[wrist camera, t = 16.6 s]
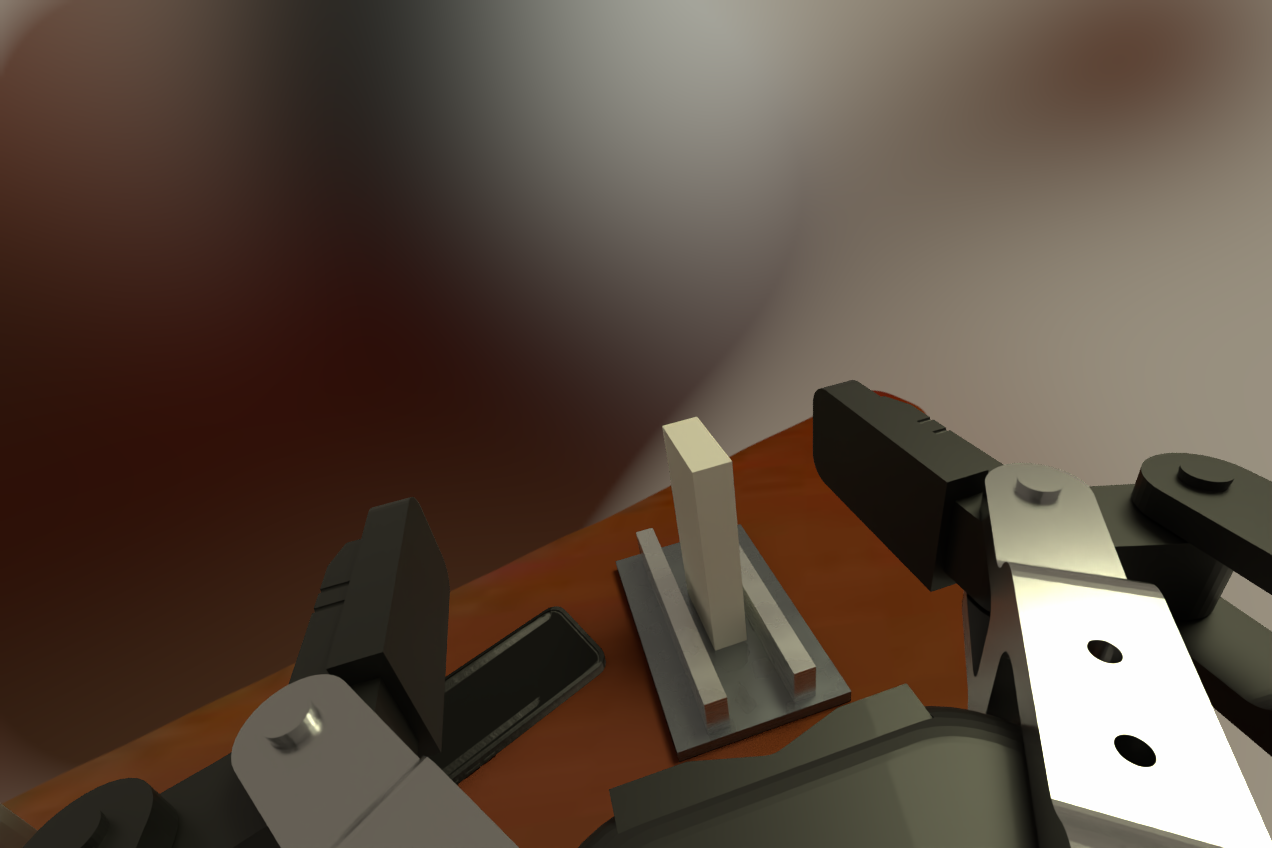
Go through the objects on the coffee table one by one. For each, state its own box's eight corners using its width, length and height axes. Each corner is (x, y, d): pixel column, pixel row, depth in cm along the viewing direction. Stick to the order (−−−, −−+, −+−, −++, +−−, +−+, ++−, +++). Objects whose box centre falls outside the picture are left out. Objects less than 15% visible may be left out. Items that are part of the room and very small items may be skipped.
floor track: (679, 761, 36) (671, 724, 34) (617, 569, 51) (609, 536, 49) (850, 700, 37) (852, 661, 35) (740, 532, 53) (738, 498, 51)
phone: (382, 719, 41) (557, 601, 48) (388, 728, 41) (560, 610, 49) (418, 806, 35) (610, 658, 42) (425, 815, 36) (613, 668, 43)
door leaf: (715, 650, 41) (692, 472, 33) (687, 592, 46) (662, 426, 38) (749, 639, 42) (734, 460, 34) (718, 582, 47) (699, 415, 39)
